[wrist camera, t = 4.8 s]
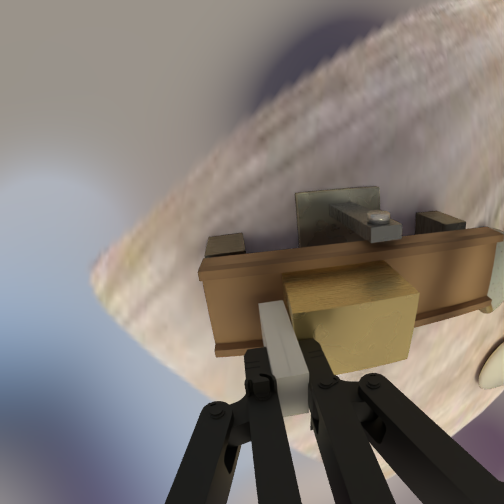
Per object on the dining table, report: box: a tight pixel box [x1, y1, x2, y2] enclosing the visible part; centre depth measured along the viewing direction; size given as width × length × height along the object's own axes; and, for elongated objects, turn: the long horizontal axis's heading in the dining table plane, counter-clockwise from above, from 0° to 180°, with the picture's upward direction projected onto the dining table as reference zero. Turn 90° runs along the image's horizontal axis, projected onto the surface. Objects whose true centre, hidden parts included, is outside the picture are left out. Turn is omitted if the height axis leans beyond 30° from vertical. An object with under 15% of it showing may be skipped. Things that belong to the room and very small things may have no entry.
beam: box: [198, 227, 504, 357], centre depth 20 cm, size 24×7×2 cm, turn 96°
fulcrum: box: [205, 186, 466, 258], centre depth 23 cm, size 24×12×9 cm, turn 96°
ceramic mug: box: [478, 229, 504, 313], centre depth 27 cm, size 11×8×8 cm
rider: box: [282, 260, 420, 375], centre depth 17 cm, size 7×5×5 cm, turn 97°
